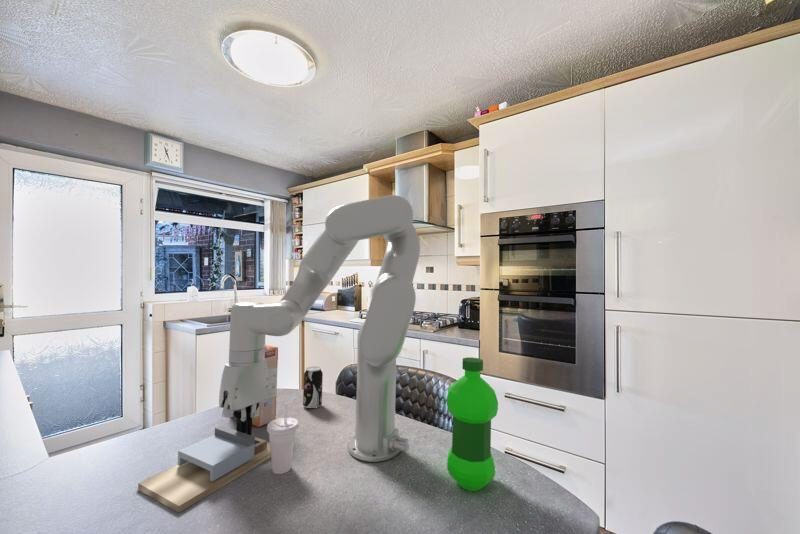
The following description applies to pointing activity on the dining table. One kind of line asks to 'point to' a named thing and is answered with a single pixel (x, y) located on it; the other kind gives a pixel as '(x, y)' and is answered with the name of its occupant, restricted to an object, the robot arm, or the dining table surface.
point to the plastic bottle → (471, 427)
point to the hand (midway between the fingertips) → (243, 435)
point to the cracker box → (268, 408)
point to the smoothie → (282, 442)
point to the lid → (219, 451)
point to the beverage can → (312, 387)
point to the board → (196, 480)
